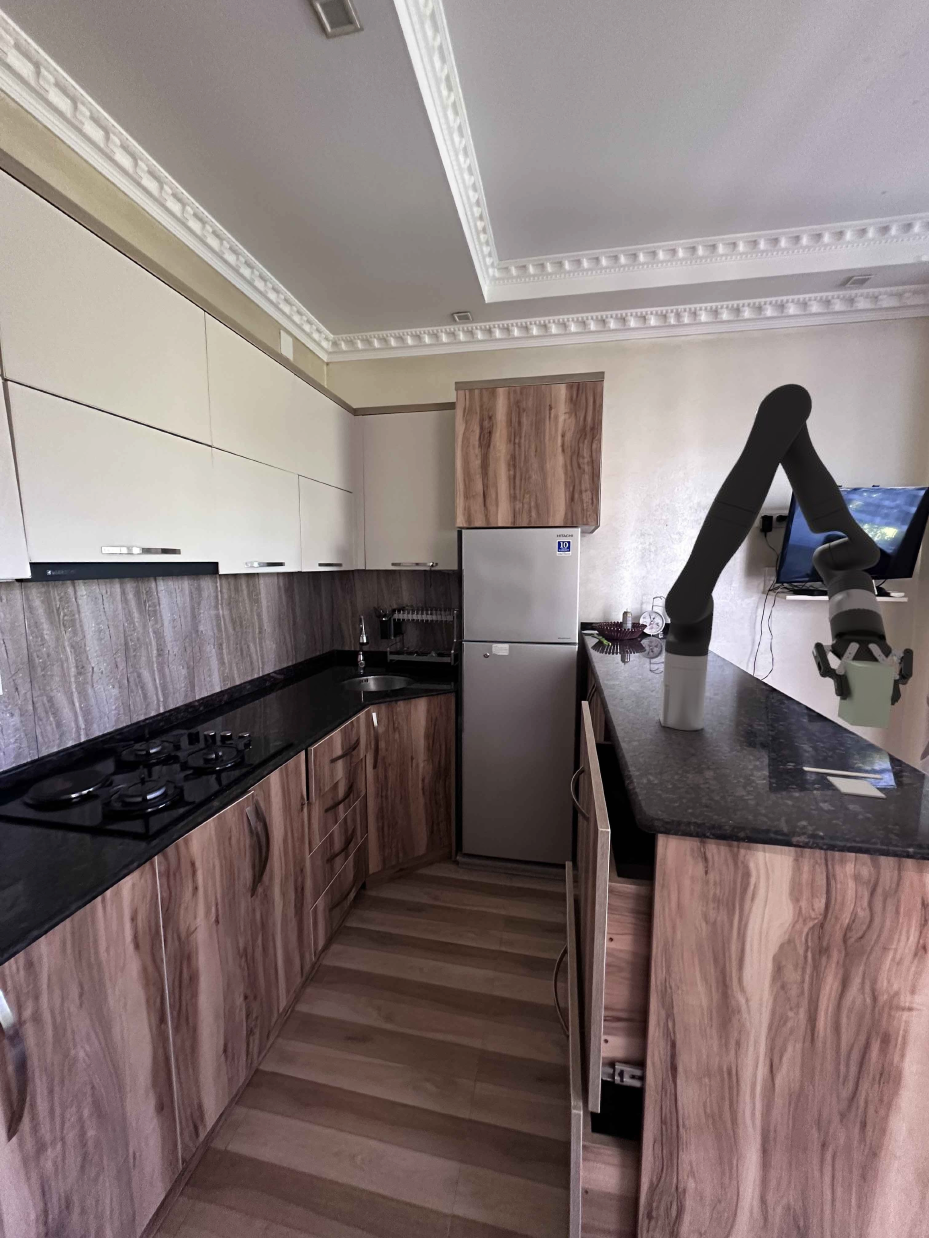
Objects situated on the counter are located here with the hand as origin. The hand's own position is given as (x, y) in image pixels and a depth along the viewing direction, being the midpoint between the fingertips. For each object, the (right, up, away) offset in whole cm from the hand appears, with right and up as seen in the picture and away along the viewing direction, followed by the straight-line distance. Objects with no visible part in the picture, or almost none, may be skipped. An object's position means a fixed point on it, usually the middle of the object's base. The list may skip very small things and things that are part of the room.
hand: (868, 700), depth 80 cm
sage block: (+1, -4, +2) cm, 5 cm away
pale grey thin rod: (+3, -15, +9) cm, 18 cm away
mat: (0, -16, +3) cm, 16 cm away
